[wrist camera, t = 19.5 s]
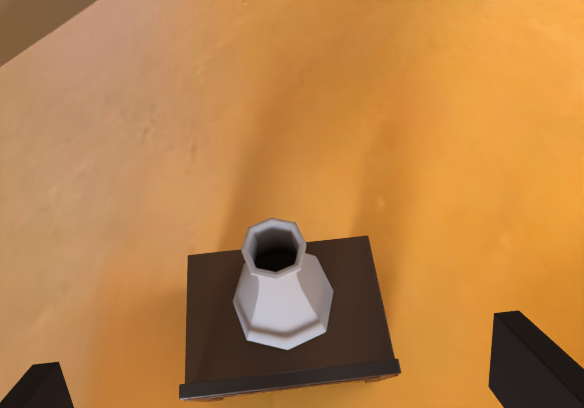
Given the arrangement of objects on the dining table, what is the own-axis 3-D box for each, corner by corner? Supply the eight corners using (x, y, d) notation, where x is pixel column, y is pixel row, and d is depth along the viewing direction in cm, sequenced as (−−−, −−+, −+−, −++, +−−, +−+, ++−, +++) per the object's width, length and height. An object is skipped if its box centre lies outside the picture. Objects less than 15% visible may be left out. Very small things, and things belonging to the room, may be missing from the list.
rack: (356, 264, 36) (374, 218, 27) (379, 381, 31) (410, 372, 22) (207, 281, 35) (176, 240, 26) (208, 401, 31) (169, 400, 22)
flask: (232, 255, 29) (200, 190, 20) (326, 245, 29) (336, 177, 20) (234, 356, 26) (198, 331, 17) (341, 345, 26) (360, 314, 17)
